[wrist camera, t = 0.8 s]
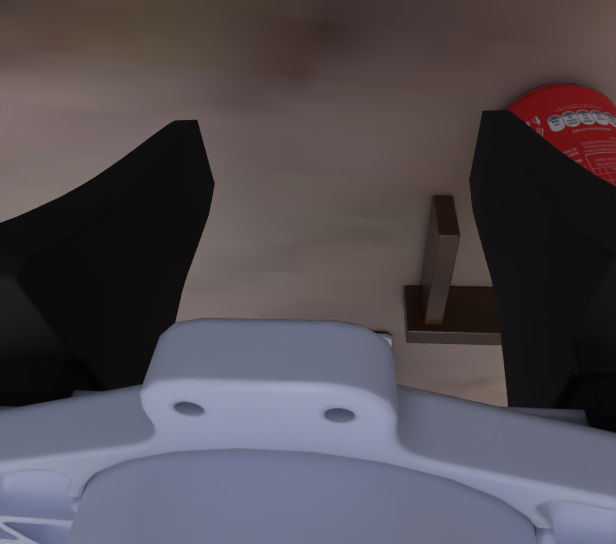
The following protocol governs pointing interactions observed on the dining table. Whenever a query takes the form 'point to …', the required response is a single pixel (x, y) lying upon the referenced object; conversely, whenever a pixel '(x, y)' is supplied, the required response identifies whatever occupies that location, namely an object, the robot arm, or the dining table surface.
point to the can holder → (448, 292)
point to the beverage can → (573, 124)
